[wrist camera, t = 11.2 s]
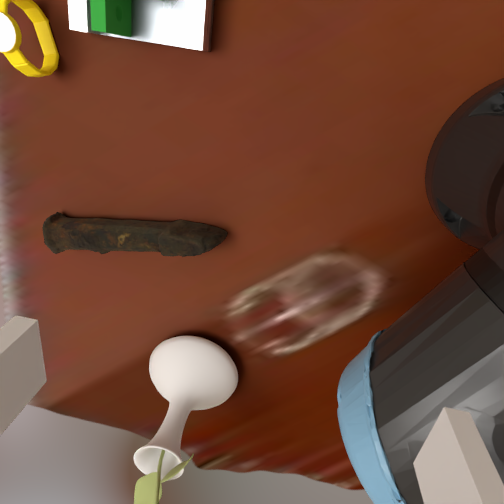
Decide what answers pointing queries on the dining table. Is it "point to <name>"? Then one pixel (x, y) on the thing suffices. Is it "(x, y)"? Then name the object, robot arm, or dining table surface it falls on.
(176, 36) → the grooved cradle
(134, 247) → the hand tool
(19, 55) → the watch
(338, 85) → the dining table surface
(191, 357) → the flower in vase
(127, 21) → the pipe clamp
